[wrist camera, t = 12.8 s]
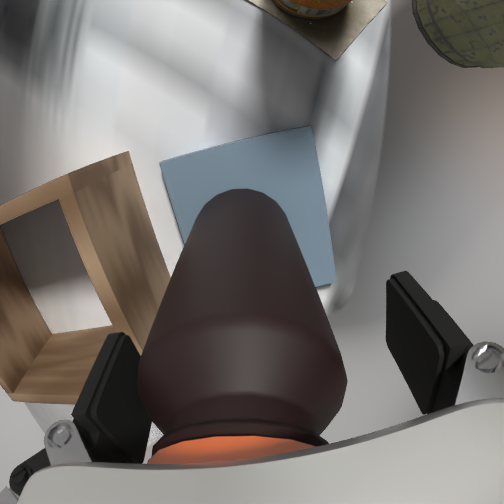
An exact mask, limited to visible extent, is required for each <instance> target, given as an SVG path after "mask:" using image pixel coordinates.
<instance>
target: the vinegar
mask: <svg viewBox="0 0 504 504" xmlns="http://www.w3.org/2000/svg"><path fill="white" fill-rule="evenodd" d="M346 386H347V376H346V372H345V368H344V364H343V361H342V357H341V353H340V351H339V348H338V345H337V343H336V340H335V337H334V335H333V332H332V329H331V326H330V324H329V321H328V318H327V316H326V313H325V311H324V308H323V305H322V303H321V300H320V298H319V295H318V292H317V290H316V287H315V285H314V282H313V280H312V277H311V275H310V272H309V270H308V267H307V265H306V262H305V260H304V257H303V255H302V252H301V250H300V247H299V245H298V243H297V240H296V238H295V235H294V233H293V230H292V228H291V226H290V223H289V221H288V218H287V216H286V214H285V212H284V211H283V210H282V208H281V207H280V206H279V204H278V203H277V202H276V201H275V200H273V199H272V198H270V197H269V196H267V195H266V194H264V193H263V192H259V191H255V190H252V189H248V188H246V189H231V190H228V191H225V192H223V193H220V194H217V195H216V196H215V197H213V198H212V199H211V200H210V201H208V202H207V203H206V204H205V205H204V206H203V208H202V209H201V211H200V213H199V214H198V216H197V218H196V220H195V222H194V224H193V227H192V229H191V231H190V234H189V236H188V238H187V241H186V243H185V245H184V248H183V250H182V252H181V255H180V257H179V260H178V262H177V264H176V267H175V269H174V272H173V274H172V277H171V279H170V281H169V284H168V286H167V289H166V291H165V294H164V296H163V299H162V302H161V304H160V307H159V309H158V312H157V314H156V317H155V320H154V322H153V325H152V328H151V330H150V333H149V336H148V338H147V341H146V344H145V346H144V349H143V352H142V355H141V357H140V360H139V365H138V376H137V392H138V395H139V397H140V400H141V402H142V405H143V407H144V409H145V412H146V414H147V415H148V417H149V418H150V419H151V420H152V422H153V423H154V424H155V425H156V426H157V427H158V428H159V430H160V431H161V432H162V433H163V434H164V435H163V436H162V437H161V439H160V440H159V441H158V442H157V443H156V444H155V445H154V446H153V449H152V457H151V458H150V459H149V460H148V463H147V464H182V463H203V462H217V461H228V460H238V459H247V458H255V457H262V456H269V455H275V454H281V453H287V452H293V451H298V450H303V449H308V448H313V447H318V446H322V445H327V444H329V443H328V442H327V441H326V440H325V439H323V438H322V437H320V434H321V433H322V432H323V431H324V430H325V429H326V427H327V426H328V425H329V423H330V422H331V420H333V418H334V417H335V416H336V414H337V413H338V411H339V410H340V408H341V406H342V403H343V399H344V395H345V391H346Z"/></svg>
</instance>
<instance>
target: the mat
mask: <svg viewBox="0 0 504 504" xmlns="http://www.w3.org/2000/svg"><path fill="white" fill-rule="evenodd" d="M160 167H161V170H162V174H163V177H164V180H165V184H166V187H167V190H168V194H169V197H170V200H171V204H172V207H173V210H174V213H175V216H176V220H177V223H178V226H179V229H180V232H181V235H182V238H183V241H184V244H185V243H186V241H187V238H188V236H189V234H190V231H191V229H192V227H193V224H194V222H195V220H196V218H197V216H198V214H199V213H200V211H201V209H202V208H203V206H204V205H205V204H206V203H207V202H208V201H210V200H211V199H212V198H213V197H215V196H216V195H217V194H220V193H223V192H225V191H228V190H231V189H246V188H248V189H252V190H255V191H259V192H263V193H264V194H266V195H267V196H269V197H270V198H272V199H273V200H275V201H276V202H277V203H278V204H279V206H280V207H281V208H282V210H283V211H284V212H285V214H286V216H287V218H288V221H289V223H290V226H291V228H292V230H293V233H294V235H295V238H296V240H297V243H298V245H299V247H300V250H301V252H302V255H303V257H304V260H305V262H306V265H307V267H308V270H309V272H310V275H311V277H312V280H313V282H314V285H315V287H317V286H321V285H326V284H330V283H334V282H336V273H335V265H334V257H333V250H332V243H331V235H330V229H329V222H328V215H327V209H326V203H325V197H324V191H323V185H322V179H321V174H320V168H319V163H318V157H317V152H316V147H315V142H314V137H313V132H312V127H311V126H306V127H301V128H295V129H290V130H285V131H280V132H275V133H270V134H266V135H261V136H256V137H252V138H248V139H243V140H239V141H235V142H231V143H227V144H223V145H219V146H215V147H211V148H207V149H203V150H200V151H196V152H192V153H189V154H185V155H182V156H178V157H175V158H171V159H168V160H165V161H162V162H160Z"/></svg>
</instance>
